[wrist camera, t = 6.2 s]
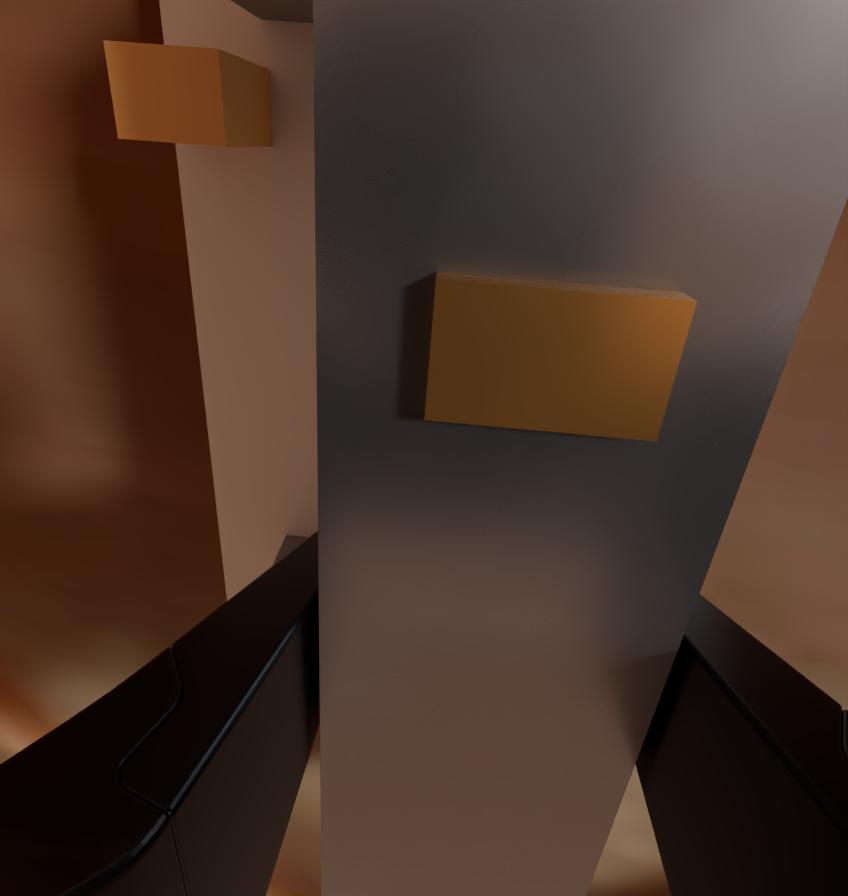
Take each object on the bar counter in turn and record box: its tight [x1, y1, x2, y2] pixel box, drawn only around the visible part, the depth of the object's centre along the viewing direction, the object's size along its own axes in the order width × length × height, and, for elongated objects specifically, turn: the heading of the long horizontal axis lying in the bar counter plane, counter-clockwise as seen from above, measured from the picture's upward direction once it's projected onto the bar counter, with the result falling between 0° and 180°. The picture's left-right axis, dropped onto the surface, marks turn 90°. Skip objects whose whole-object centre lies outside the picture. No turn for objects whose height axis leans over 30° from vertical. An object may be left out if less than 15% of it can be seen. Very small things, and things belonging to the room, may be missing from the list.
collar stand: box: [103, 0, 318, 601], centre depth 11 cm, size 22×12×5 cm, turn 176°
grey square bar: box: [313, 0, 848, 896], centre depth 9 cm, size 20×4×4 cm, turn 176°
